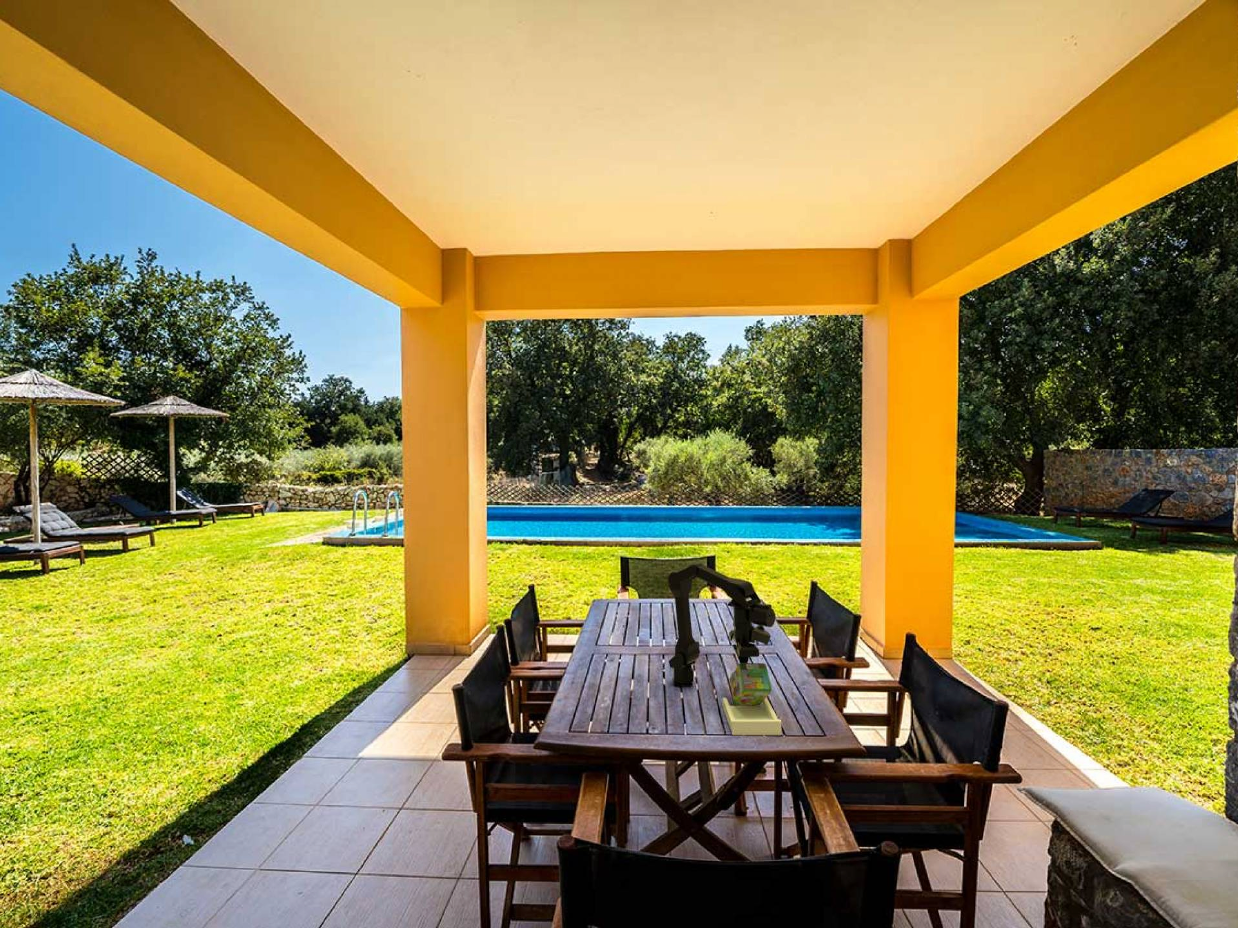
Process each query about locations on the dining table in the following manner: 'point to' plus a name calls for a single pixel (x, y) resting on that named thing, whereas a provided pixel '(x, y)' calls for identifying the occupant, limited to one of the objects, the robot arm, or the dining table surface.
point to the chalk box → (750, 684)
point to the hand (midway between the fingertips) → (744, 669)
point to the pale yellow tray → (752, 719)
